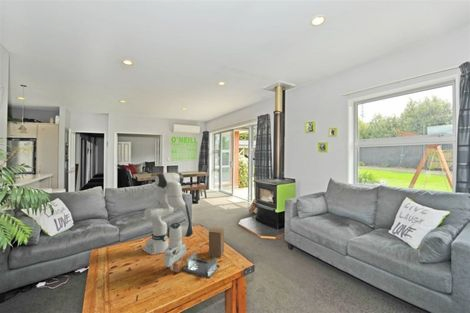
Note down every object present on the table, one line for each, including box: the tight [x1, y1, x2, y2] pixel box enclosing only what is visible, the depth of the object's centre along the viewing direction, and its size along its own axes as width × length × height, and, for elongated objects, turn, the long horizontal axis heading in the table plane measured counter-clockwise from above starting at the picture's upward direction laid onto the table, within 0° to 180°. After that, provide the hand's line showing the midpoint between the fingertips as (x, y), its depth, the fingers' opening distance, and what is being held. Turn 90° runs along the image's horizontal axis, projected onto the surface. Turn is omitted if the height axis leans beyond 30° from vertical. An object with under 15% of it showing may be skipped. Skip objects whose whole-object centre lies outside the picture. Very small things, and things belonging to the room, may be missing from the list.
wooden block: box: [208, 226, 225, 258], centre depth 167 cm, size 10×10×20 cm
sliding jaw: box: [185, 252, 198, 268], centre depth 149 cm, size 2×11×6 cm, turn 157°
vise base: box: [182, 257, 220, 279], centre depth 146 cm, size 22×14×8 cm, turn 67°
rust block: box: [169, 260, 183, 273], centre depth 145 cm, size 4×7×6 cm, turn 67°
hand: (176, 266), depth 145 cm, fingers open, 7 cm apart
